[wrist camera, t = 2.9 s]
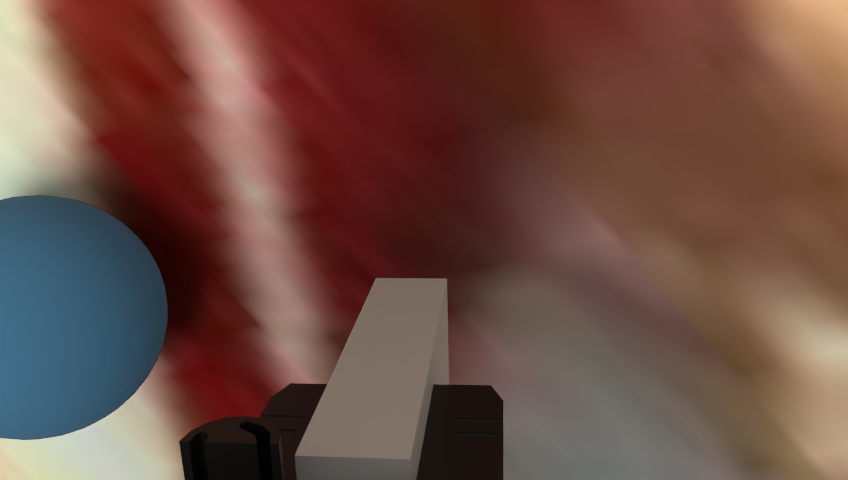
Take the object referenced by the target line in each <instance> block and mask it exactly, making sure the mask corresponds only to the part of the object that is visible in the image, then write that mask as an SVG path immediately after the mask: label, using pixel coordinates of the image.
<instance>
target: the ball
mask: <svg viewBox="0 0 848 480" xmlns="http://www.w3.org/2000/svg"><path fill="white" fill-rule="evenodd" d="M167 318H168V307H167V296H166V291H165V286H164V282H163V279H162V276H161V273H160V270H159V268H158V266H157V264H156V262H155V260H154V258H153V257H152V255H151V253H150V252H149V250H148V249H147V247H146V246H145V245H144V244H143V242H142V241H141V240H140V239H139V238H138V237H137V236H136V235H135V234H134V233H133V232H132V231H131V230H130V229H129V228H128V227H127V226H126V225H124V224H123V223H122V222H120V221H119V220H118V219H116V218H114V217H113V216H111V215H109V214H108V213H106V212H104V211H102V210H100V209H98V208H95V207H93V206H91V205H89V204H86V203H83V202H80V201H77V200H72V199H67V198H61V197H55V196H42V195H36V196H21V197H12V198H8V199H3V200H0V438H8V439H21V440H30V439H42V438H49V437H55V436H61V435H64V434H67V433H71V432H74V431H77V430H80V429H82V428H85V427H87V426H89V425H91V424H93V423H95V422H97V421H99V420H101V419H103V418H104V417H106V416H107V415H109V414H110V413H112V412H113V411H115V410H116V409H118V408H119V407H120V406H121V405H122V404H123V403H125V402H126V401H127V400H128V399H129V398H130V397H131V396H132V395H133V394H134V393H135V392H136V391H137V389H138V388H139V387H140V386H141V384H142V383H143V382H144V381H145V379H146V378H147V377H148V375H149V374H150V372H151V370H152V368H153V366H154V365H155V363H156V361H157V358H158V356H159V354H160V351H161V348H162V346H163V342H164V337H165V333H166V328H167Z"/></svg>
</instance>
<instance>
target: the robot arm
mask: <svg viewBox="0 0 848 480" xmlns="http://www.w3.org/2000/svg"><path fill="white" fill-rule="evenodd" d="M179 442H180V449H181V456H182V463H183V470H184V476H185V480H503V400H502V399H501V398H500V396H499V395H498V394H497V393H496V391H495V390H494V389H493V387H492V386H486V385H449V349H448V304H447V279H442V278H376V279H375V281H374V284H373V286H372V288H371V290H370V292H369V294H368V297H367V299H366V301H365V303H364V305H363V308H362V310H361V312H360V314H359V316H358V318H357V321H356V323H355V325H354V327H353V329H352V331H351V334H350V336H349V338H348V340H347V342H346V345H345V347H344V349H343V351H342V353H341V355H340V358H339V360H338V362H337V364H336V366H335V369H334V371H333V373H332V375H331V377H330V379H329V382H328V384H289V385H288V386H287V387H285V388H284V389H282V390H281V391H280V392H278V393H277V394H275V395H274V396H273V397H271V398H270V400H269V402H268V403H267V405H266V407H265V409H264V410H263V412H262V414H261V418H255V417H247V416H241V417H228V418H223V419H219V420H216V421H212V422H208V423H206V424H204V425H202V426H200V427H198V428H196V429H194V430H192V431H190V432H189V433H188V434H187V435H186V436H185V437H184V438H183V439H182V440H181V441H179Z"/></svg>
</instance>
